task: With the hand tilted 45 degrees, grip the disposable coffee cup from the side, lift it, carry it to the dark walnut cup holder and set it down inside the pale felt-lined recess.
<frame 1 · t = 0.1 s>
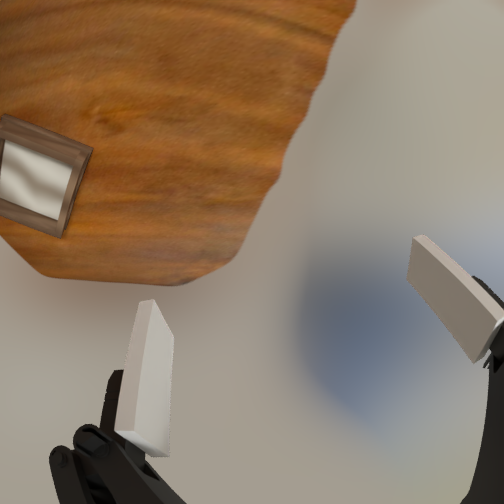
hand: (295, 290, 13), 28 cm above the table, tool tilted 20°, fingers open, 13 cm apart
holder: (35, 174, 31), on the table
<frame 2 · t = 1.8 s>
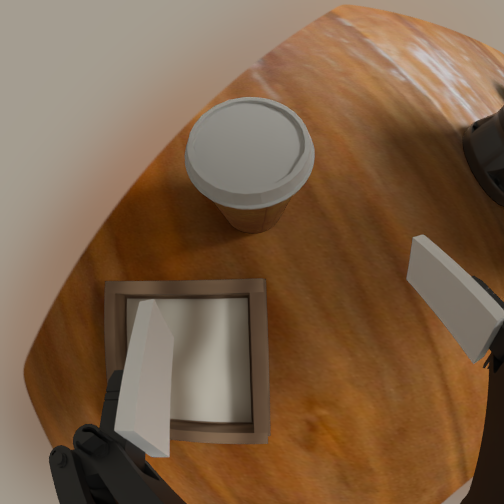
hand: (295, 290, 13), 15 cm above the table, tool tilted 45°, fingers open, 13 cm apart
holder: (188, 360, 26), on the table
disposable coffee cup: (253, 206, 30), on the table
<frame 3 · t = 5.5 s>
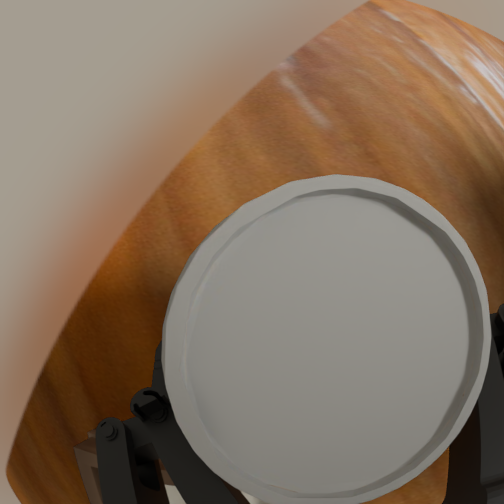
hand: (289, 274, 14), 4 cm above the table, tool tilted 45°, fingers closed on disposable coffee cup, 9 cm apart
disposable coffee cup: (294, 333, 17), on the table, touching gripper
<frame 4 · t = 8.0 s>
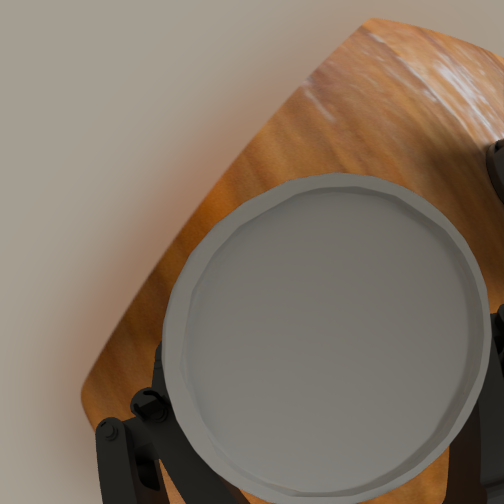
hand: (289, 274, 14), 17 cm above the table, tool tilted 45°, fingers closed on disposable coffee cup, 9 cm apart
disposable coffee cup: (294, 332, 17), point 13 cm above the table, touching gripper
when the fingers open (6 cm above the table, at t = 10.6 s): disposable coffee cup moves 3 cm, resting on holder.
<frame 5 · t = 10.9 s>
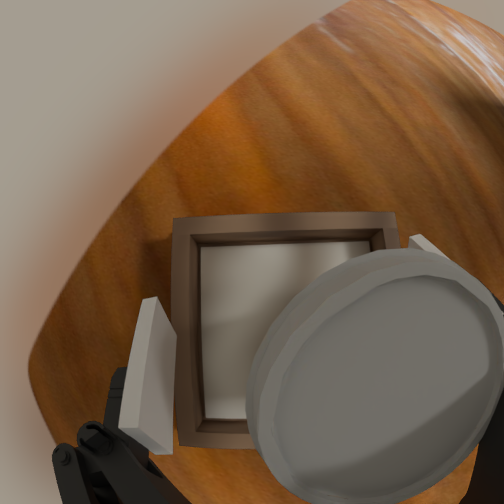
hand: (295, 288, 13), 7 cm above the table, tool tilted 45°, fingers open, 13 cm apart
holder: (290, 331, 20), on the table
disposable coffee cup: (336, 336, 18), point 2 cm above the table, touching gripper, holder
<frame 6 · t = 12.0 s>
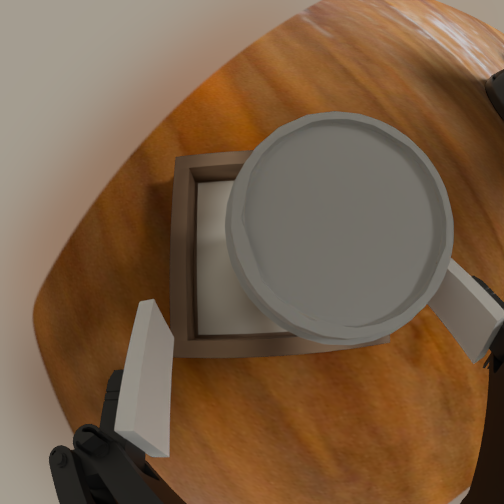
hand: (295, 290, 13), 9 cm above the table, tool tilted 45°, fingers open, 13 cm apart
holder: (275, 254, 23), on the table
disposable coffee cup: (318, 254, 21), point 2 cm above the table, touching gripper
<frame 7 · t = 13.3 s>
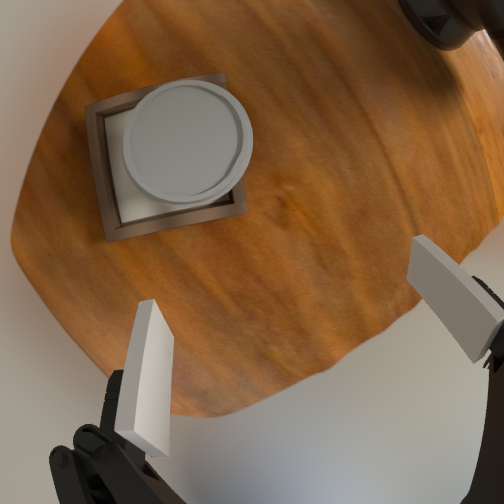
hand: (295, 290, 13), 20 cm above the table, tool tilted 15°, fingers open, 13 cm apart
holder: (165, 156, 29), on the table
disposable coffee cup: (192, 155, 29), point 1 cm above the table, touching holder
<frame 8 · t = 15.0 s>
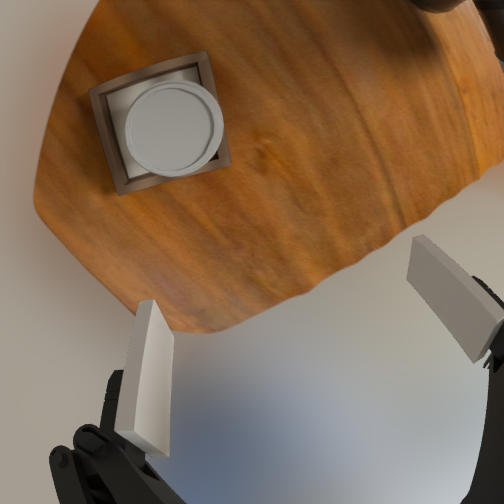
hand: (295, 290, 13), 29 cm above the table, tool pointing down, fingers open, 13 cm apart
holder: (161, 121, 33), on the table
disposable coffee cup: (183, 120, 33), point 1 cm above the table, touching holder
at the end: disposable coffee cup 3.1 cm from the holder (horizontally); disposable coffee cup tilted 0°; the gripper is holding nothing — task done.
